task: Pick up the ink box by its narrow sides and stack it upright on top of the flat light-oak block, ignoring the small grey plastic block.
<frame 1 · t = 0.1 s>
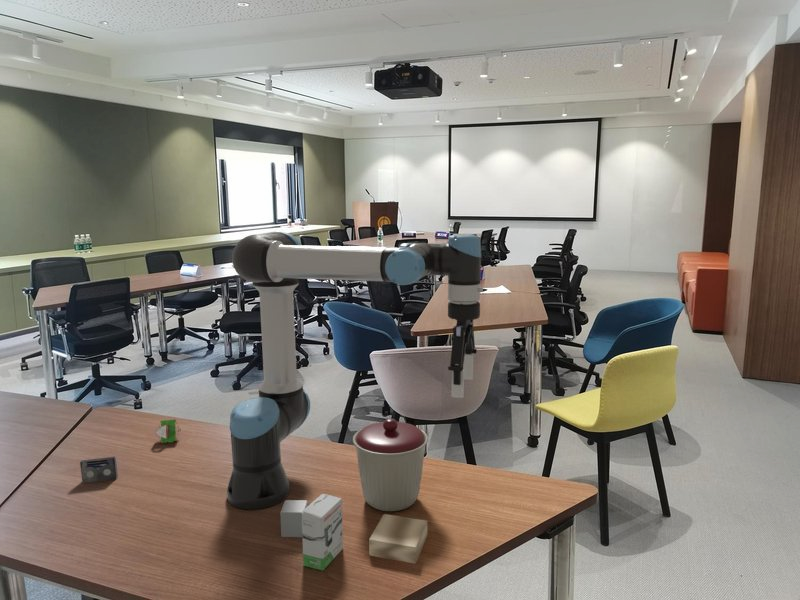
hand: (462, 387, 137), 28 cm above the table, fingers open, 13 cm apart
geometric puzzle: (169, 441, 175), on the table
grey block: (295, 530, 127), on the table
canister: (391, 501, 140), on the table
oak block: (399, 546, 122), on the table
ink box: (323, 557, 118), on the table
mini dv tape: (100, 480, 151), on the table
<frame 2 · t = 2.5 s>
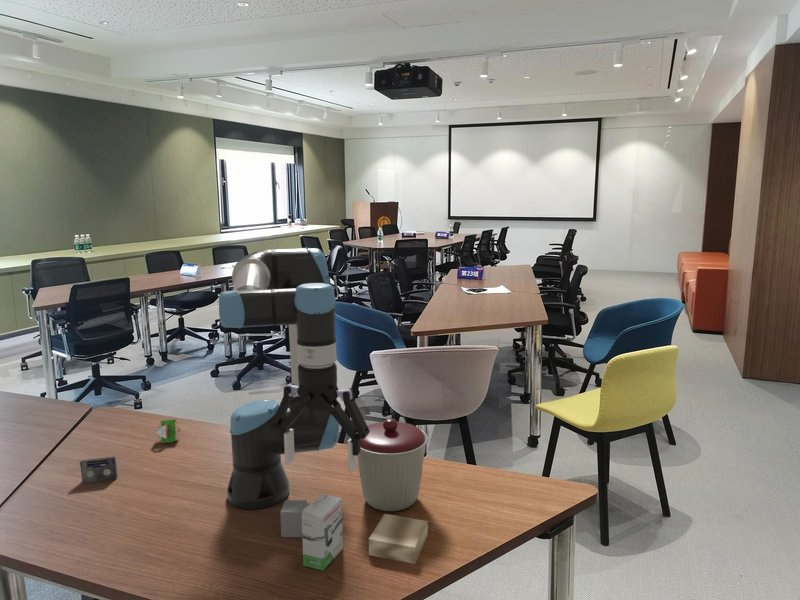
hand: (320, 465, 114), 20 cm above the table, fingers open, 13 cm apart
nothing on the table moved.
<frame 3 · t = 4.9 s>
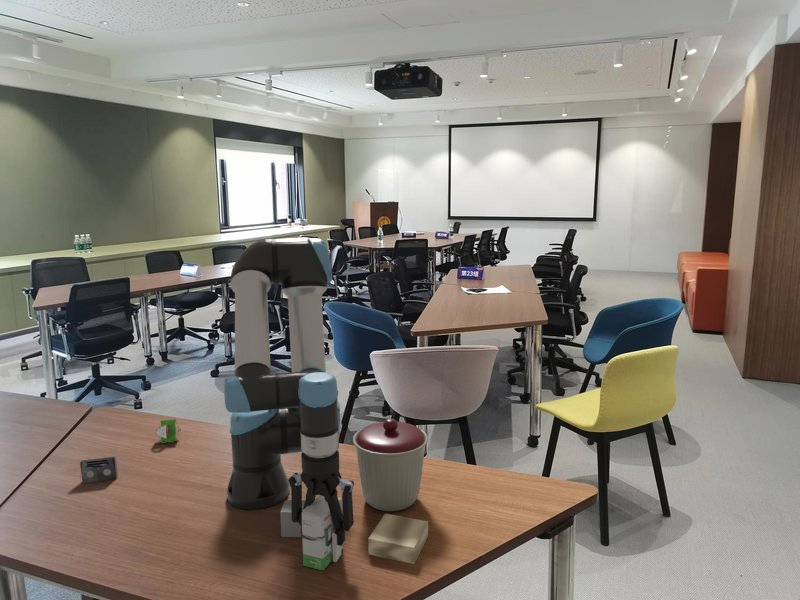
hand: (323, 555, 118), 0 cm above the table, fingers closed on ink box, 5 cm apart
ink box: (323, 557, 118), on the table, touching gripper
everything else where it was.
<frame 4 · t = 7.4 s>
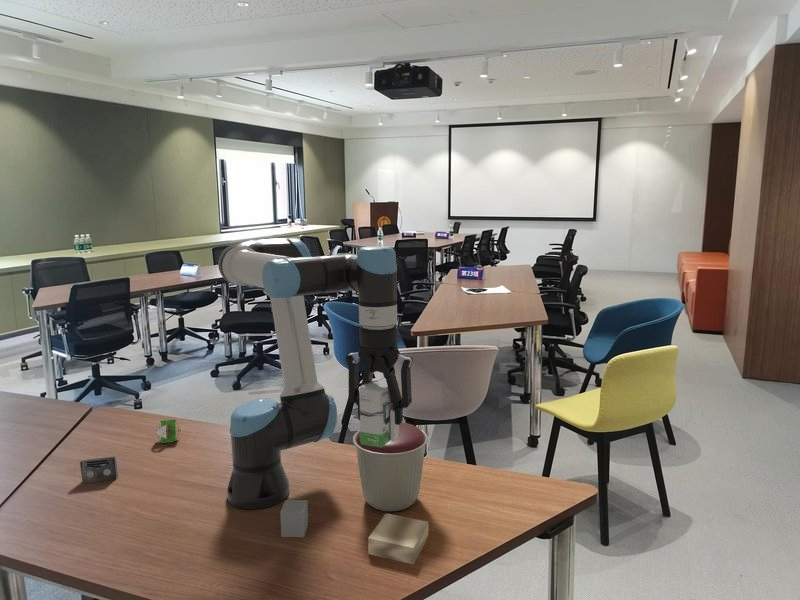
hand: (380, 436, 116), 25 cm above the table, fingers closed on ink box, 5 cm apart
ink box: (380, 439, 116), point 25 cm above the table, touching gripper
everything else where it was.
when the fingers open (5 cm above the table, at t = 10.3 s): ink box drops 1 cm, resting on oak block.
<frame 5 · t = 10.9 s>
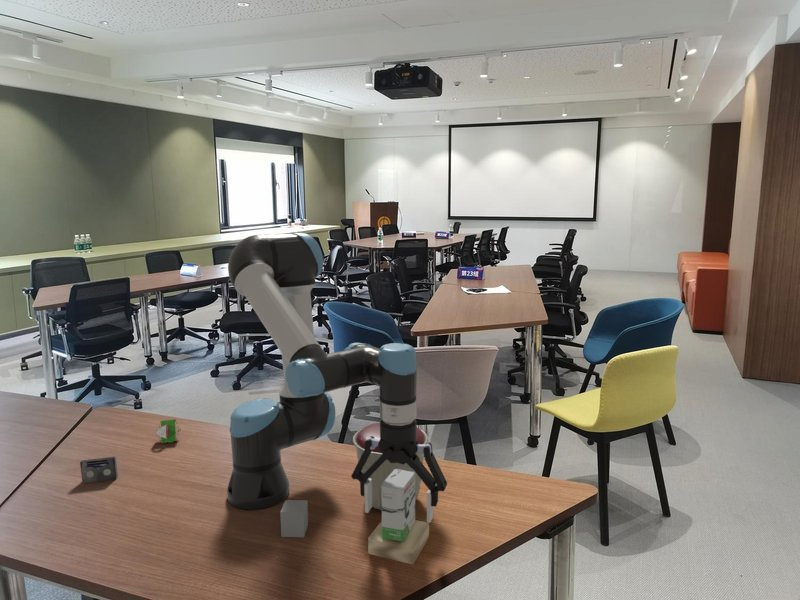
hand: (398, 514, 120), 7 cm above the table, fingers open, 13 cm apart
oak block: (399, 547, 122), on the table, touching ink box
ink box: (398, 530, 121), point 3 cm above the table, touching oak block
everything else where it was.
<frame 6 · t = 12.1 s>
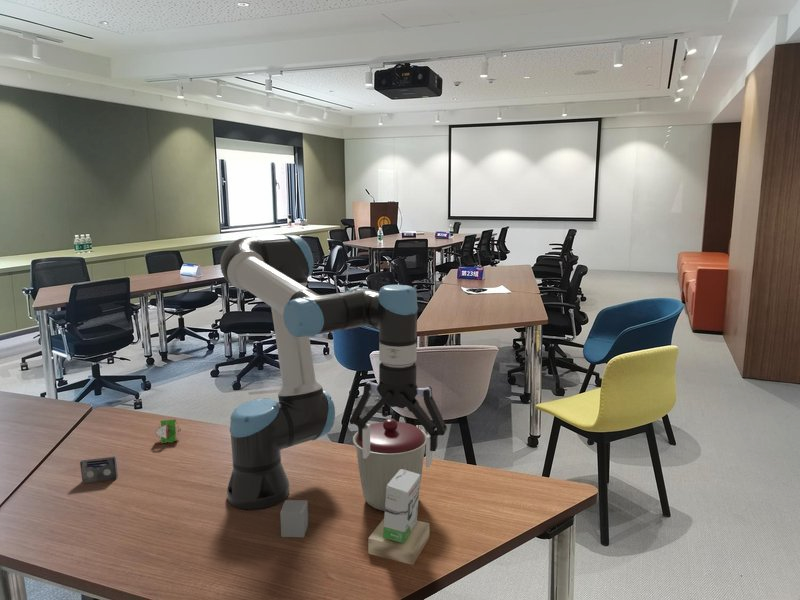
hand: (397, 460, 118), 19 cm above the table, fingers open, 13 cm apart
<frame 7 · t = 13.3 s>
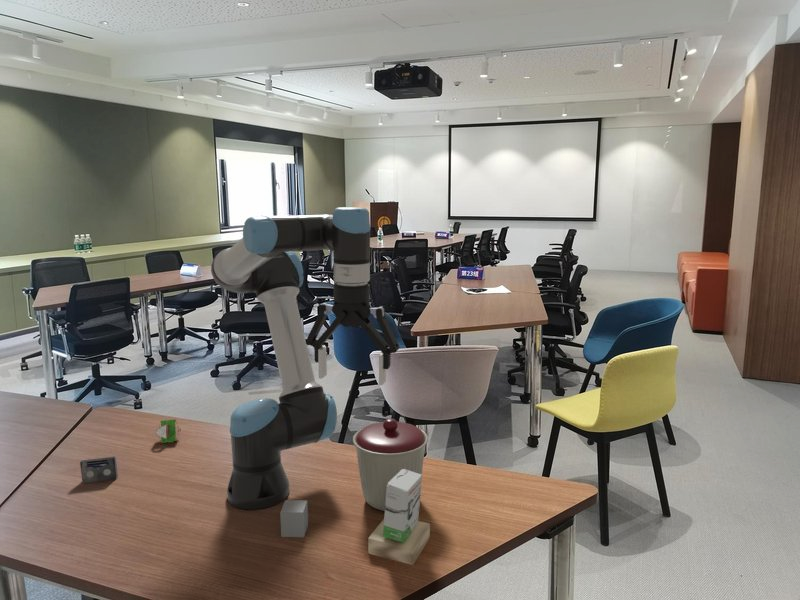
hand: (352, 379, 122), 35 cm above the table, fingers open, 13 cm apart
nothing on the table moved.
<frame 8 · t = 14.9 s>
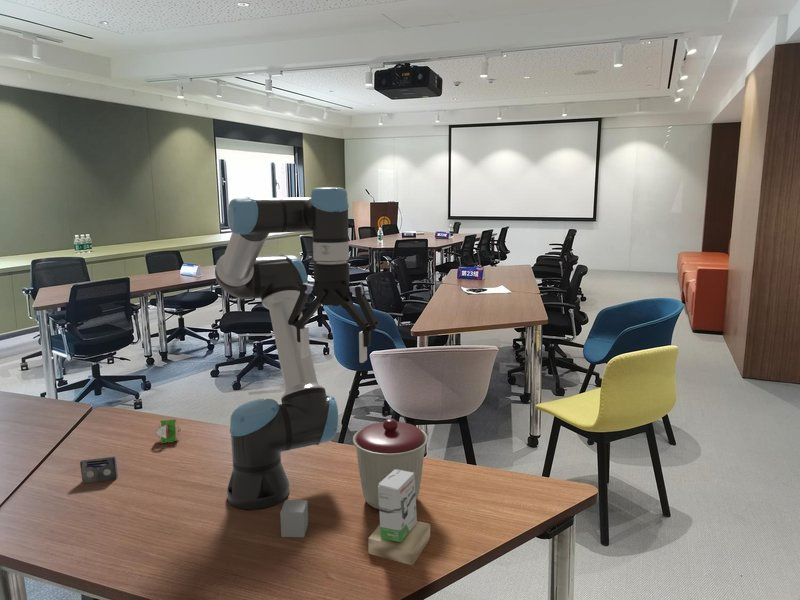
hand: (333, 359, 124), 39 cm above the table, fingers open, 13 cm apart
at the end: ink box inside the target area on the oak block (0.3 cm from its centre), point 4.1 cm above the oak block's base; ink box tilted 7°; the gripper is holding nothing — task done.
